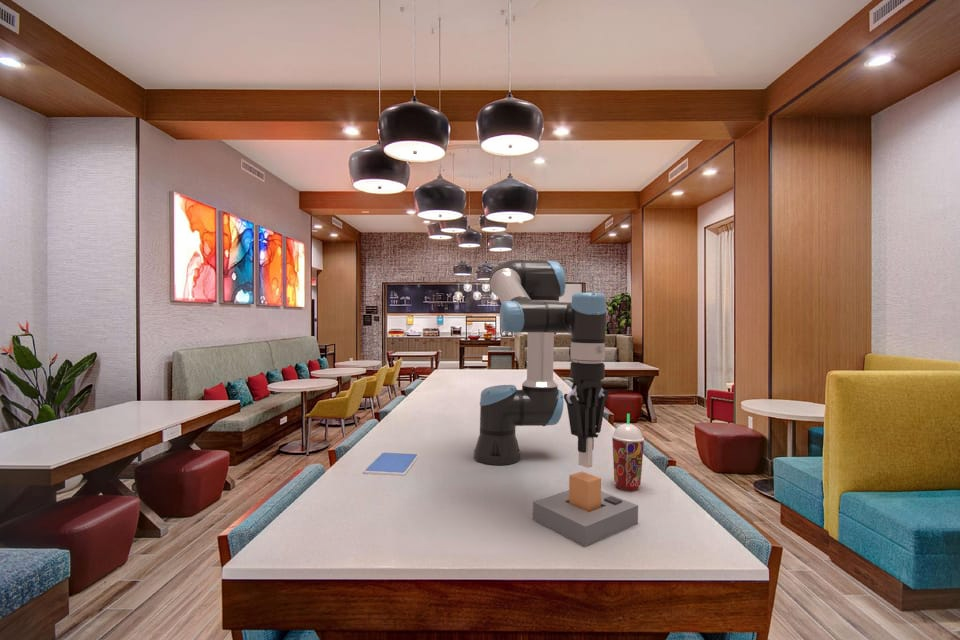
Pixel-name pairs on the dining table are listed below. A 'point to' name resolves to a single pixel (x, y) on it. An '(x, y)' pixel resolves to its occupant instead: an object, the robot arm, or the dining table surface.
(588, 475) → the plug
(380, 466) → the tablet computer
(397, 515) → the dining table surface
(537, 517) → the socket box
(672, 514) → the dining table surface
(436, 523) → the dining table surface
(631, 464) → the smoothie
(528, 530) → the dining table surface
